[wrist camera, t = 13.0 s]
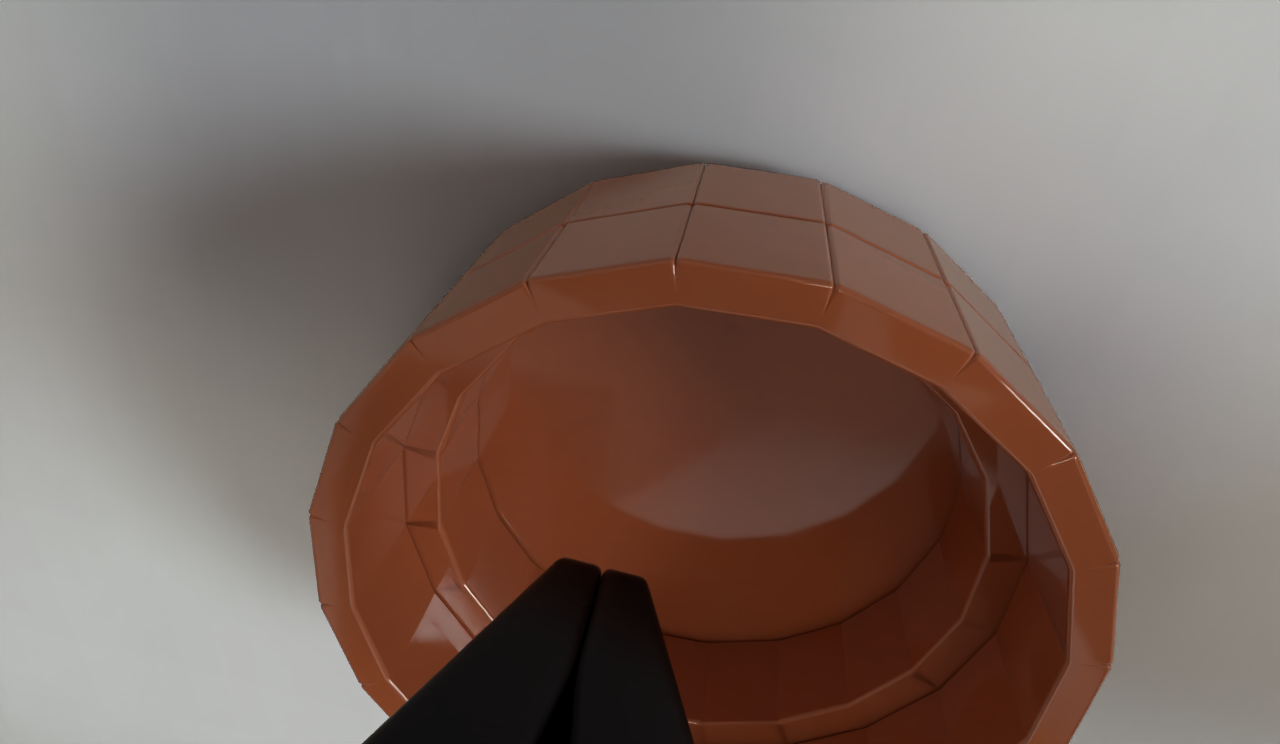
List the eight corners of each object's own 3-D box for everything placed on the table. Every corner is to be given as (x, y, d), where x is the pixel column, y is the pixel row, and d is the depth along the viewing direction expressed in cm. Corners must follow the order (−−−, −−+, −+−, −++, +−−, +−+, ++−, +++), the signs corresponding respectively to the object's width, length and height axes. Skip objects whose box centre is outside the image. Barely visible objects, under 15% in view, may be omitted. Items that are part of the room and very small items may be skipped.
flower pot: (926, 705, 18) (967, 928, 14) (433, 609, 19) (340, 793, 15) (1130, 215, 13) (1290, 354, 9) (420, 111, 13) (268, 194, 9)
